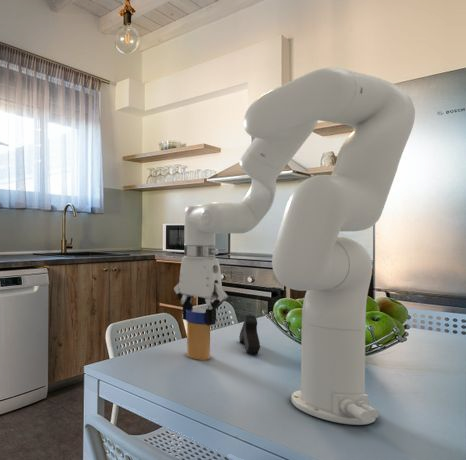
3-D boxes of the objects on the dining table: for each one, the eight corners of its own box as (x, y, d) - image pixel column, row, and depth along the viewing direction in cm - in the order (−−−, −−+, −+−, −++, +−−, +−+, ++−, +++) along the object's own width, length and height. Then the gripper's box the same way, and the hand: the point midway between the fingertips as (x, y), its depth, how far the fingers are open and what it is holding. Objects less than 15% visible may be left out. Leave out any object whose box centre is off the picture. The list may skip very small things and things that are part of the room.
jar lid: (216, 324, 101) (216, 313, 101) (191, 323, 101) (191, 312, 101) (205, 318, 107) (205, 308, 107) (182, 318, 107) (182, 308, 107)
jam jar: (213, 360, 101) (214, 314, 101) (191, 359, 101) (192, 314, 101) (204, 353, 107) (205, 310, 107) (183, 353, 107) (184, 310, 107)
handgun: (248, 347, 104) (244, 312, 109) (241, 365, 114) (238, 331, 120) (260, 348, 103) (256, 312, 109) (252, 366, 113) (248, 332, 119)
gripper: (239, 254, 99) (238, 327, 99) (182, 250, 113) (181, 314, 113) (220, 254, 95) (219, 330, 95) (163, 251, 109) (163, 317, 109)
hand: (198, 321), depth 104 cm, fingers closed on jar lid, 6 cm apart
